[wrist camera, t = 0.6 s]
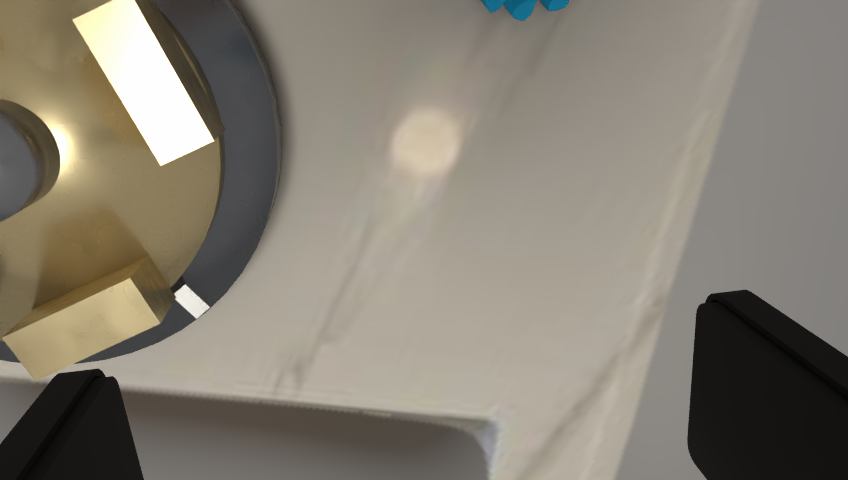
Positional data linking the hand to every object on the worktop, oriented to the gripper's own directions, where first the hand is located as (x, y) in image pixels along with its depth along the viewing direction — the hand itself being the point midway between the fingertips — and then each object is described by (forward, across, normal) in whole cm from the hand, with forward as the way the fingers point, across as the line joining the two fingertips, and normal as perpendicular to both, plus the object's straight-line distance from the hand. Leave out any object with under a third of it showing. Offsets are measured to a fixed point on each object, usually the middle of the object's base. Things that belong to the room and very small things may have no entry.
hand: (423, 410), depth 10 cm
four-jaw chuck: (+24, +17, -1) cm, 29 cm away
